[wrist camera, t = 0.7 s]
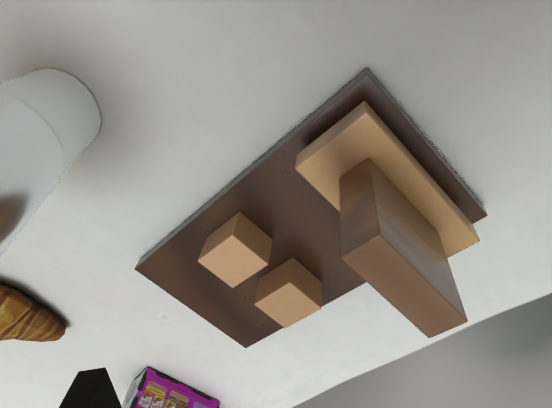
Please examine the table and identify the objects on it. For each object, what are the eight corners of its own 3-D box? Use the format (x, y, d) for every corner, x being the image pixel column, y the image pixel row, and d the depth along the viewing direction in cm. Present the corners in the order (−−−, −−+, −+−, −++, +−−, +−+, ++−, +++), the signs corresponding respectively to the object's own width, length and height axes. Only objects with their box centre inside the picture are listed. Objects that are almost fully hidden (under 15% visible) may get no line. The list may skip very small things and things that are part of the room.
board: (366, 66, 28) (368, 73, 27) (482, 204, 34) (488, 215, 32) (140, 258, 41) (134, 269, 40) (248, 337, 47) (245, 348, 45)
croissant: (-51, 282, 47) (-88, 317, 43) (-37, 250, 44) (-75, 284, 40) (59, 338, 51) (35, 375, 47) (79, 312, 48) (56, 350, 43)
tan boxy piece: (239, 210, 35) (232, 234, 32) (273, 239, 36) (268, 264, 34) (206, 236, 37) (197, 261, 34) (239, 263, 38) (232, 288, 36)
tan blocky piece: (292, 256, 37) (289, 282, 34) (322, 282, 38) (321, 308, 36) (258, 278, 39) (253, 304, 36) (288, 302, 40) (284, 328, 38)
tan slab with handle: (363, 91, 28) (378, 180, 19) (467, 212, 32) (522, 333, 23) (297, 145, 31) (282, 245, 21) (402, 249, 35) (427, 370, 26)
